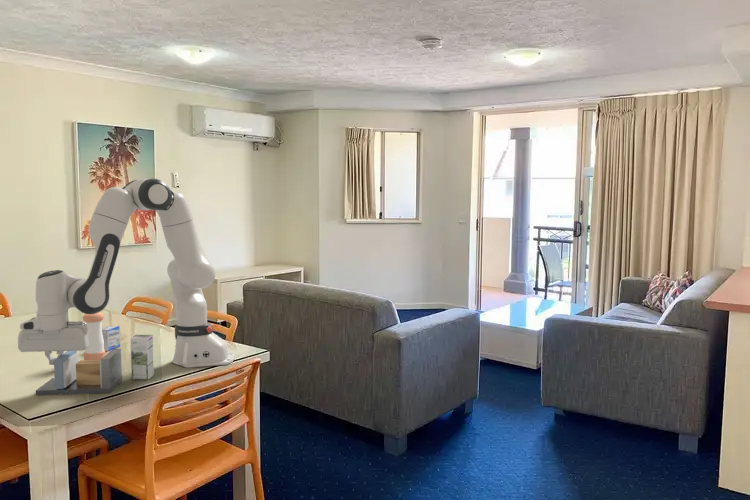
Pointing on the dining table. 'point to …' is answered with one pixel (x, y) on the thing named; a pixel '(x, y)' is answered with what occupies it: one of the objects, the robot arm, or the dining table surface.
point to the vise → (108, 381)
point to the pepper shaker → (94, 337)
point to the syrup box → (142, 357)
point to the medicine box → (111, 337)
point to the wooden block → (88, 372)
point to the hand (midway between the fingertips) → (54, 364)
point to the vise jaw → (65, 369)
